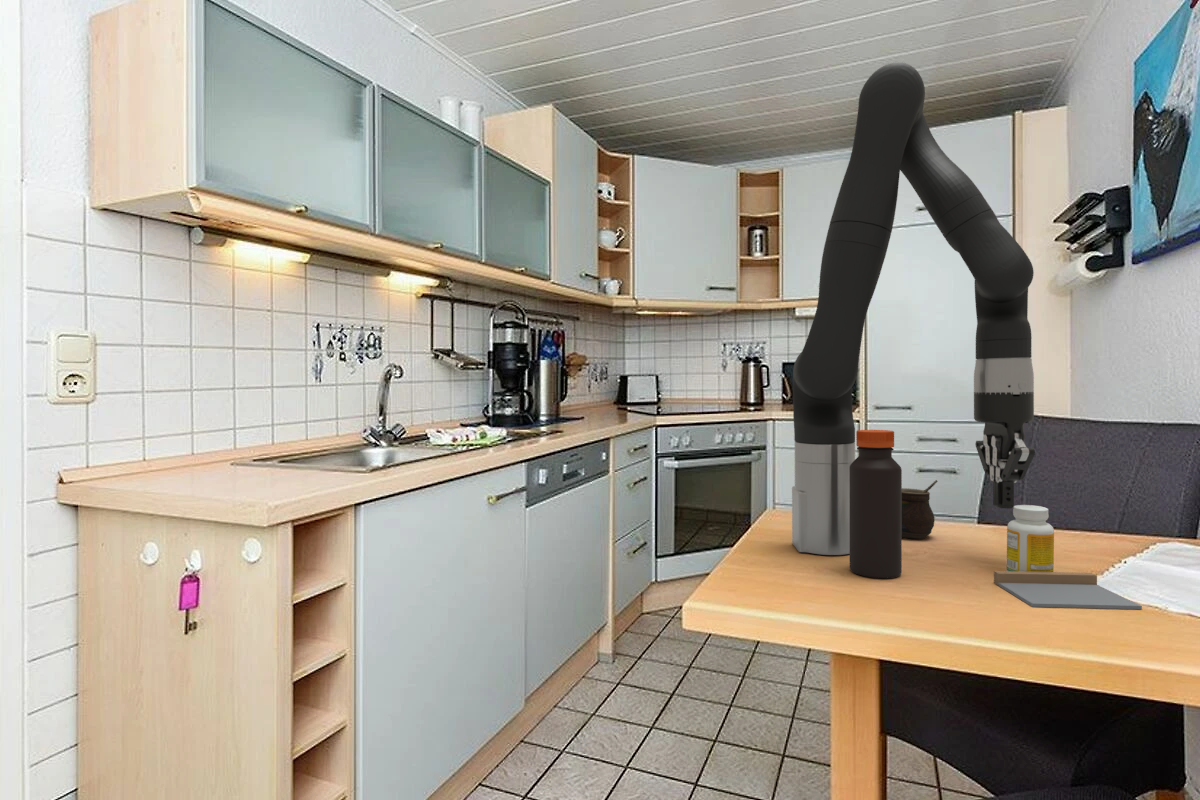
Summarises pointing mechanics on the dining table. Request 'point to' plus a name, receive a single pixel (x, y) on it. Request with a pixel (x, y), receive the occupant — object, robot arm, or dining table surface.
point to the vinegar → (875, 507)
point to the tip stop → (1060, 590)
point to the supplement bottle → (1030, 540)
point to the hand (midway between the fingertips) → (1003, 507)
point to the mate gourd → (916, 513)
